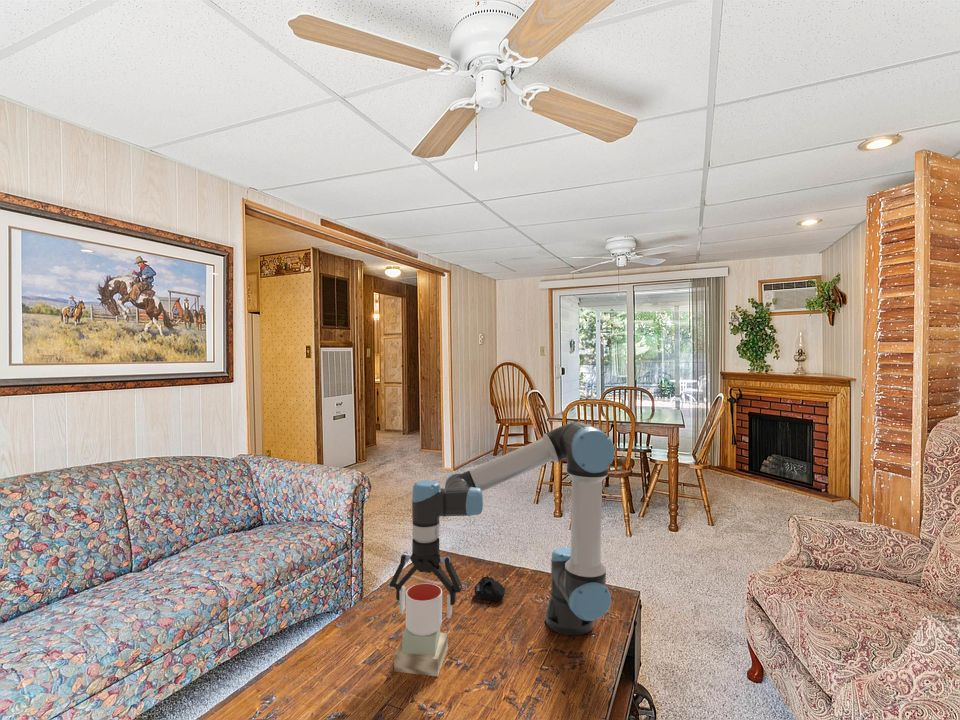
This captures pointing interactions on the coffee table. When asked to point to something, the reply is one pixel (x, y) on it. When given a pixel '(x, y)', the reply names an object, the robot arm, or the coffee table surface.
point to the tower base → (422, 659)
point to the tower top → (420, 643)
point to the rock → (489, 589)
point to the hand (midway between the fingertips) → (425, 613)
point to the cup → (423, 609)
